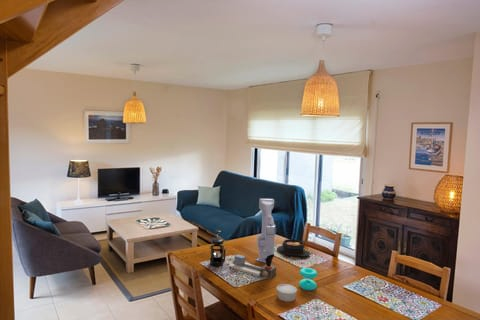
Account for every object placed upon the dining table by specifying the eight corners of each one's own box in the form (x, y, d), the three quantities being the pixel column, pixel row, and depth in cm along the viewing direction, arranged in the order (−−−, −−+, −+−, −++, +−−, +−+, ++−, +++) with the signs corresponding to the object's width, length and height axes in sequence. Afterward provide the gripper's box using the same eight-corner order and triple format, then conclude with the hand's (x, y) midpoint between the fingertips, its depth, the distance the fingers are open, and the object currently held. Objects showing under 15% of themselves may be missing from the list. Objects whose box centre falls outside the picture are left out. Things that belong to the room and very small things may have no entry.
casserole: (272, 252, 245) (272, 241, 244) (283, 246, 260) (284, 235, 259) (303, 261, 231) (304, 249, 230) (313, 253, 246) (314, 242, 245)
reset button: (266, 271, 208) (267, 264, 207) (272, 273, 206) (272, 265, 205) (263, 273, 204) (264, 266, 204) (269, 275, 202) (269, 267, 202)
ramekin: (282, 290, 186) (283, 281, 185) (300, 297, 179) (300, 288, 178) (271, 297, 177) (272, 288, 177) (289, 305, 170) (290, 295, 170)
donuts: (312, 266, 196) (320, 273, 187) (311, 282, 197) (319, 290, 188) (297, 267, 194) (304, 274, 184) (296, 284, 195) (303, 292, 185)
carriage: (237, 262, 219) (237, 254, 219) (245, 264, 216) (245, 256, 216) (234, 263, 216) (234, 256, 215) (242, 266, 213) (242, 258, 212)
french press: (205, 264, 218) (206, 230, 216) (214, 260, 226) (215, 227, 224) (219, 269, 211) (221, 234, 209) (228, 264, 219) (229, 230, 217)
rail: (237, 262, 223) (237, 258, 223) (266, 270, 211) (266, 266, 211) (229, 267, 215) (229, 262, 214) (258, 276, 203) (258, 271, 203)
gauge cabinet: (266, 271, 210) (266, 264, 210) (275, 274, 206) (276, 266, 206) (259, 276, 203) (260, 268, 203) (269, 279, 200) (270, 271, 199)
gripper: (268, 240, 212) (267, 260, 213) (258, 246, 199) (257, 268, 200) (278, 242, 208) (277, 263, 210) (269, 249, 196) (268, 271, 197)
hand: (268, 265), depth 204 cm, fingers closed, pressing on reset button
